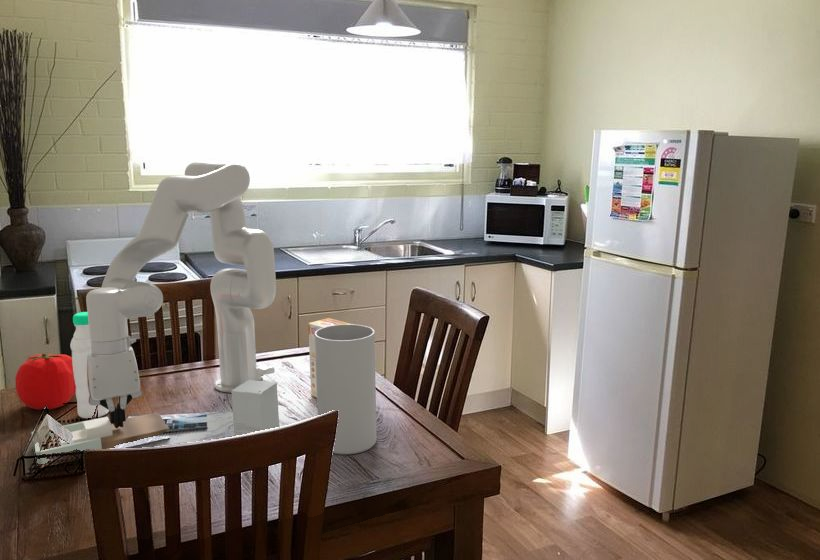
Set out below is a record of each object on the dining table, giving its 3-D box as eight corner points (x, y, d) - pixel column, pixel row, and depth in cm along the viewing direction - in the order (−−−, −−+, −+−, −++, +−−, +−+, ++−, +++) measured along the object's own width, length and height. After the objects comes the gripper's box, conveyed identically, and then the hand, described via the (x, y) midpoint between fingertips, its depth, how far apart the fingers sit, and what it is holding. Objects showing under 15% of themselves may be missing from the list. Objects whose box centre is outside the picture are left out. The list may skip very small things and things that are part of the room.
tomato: (37, 421, 164) (30, 366, 162) (5, 409, 172) (-2, 356, 169) (97, 400, 177) (91, 348, 175) (65, 390, 185) (59, 340, 182)
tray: (93, 434, 157) (92, 419, 156) (102, 454, 147) (100, 438, 146) (33, 447, 151) (31, 431, 150) (38, 469, 141) (36, 452, 140)
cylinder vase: (341, 426, 160) (338, 321, 155) (387, 438, 154) (385, 329, 149) (307, 447, 149) (302, 335, 144) (355, 461, 143) (352, 344, 138)
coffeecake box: (370, 402, 174) (368, 327, 170) (349, 411, 169) (347, 333, 165) (331, 388, 184) (328, 317, 180) (309, 395, 179) (307, 322, 175)
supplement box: (281, 435, 156) (278, 382, 153) (263, 449, 149) (260, 393, 146) (252, 431, 158) (249, 378, 155) (233, 445, 151) (230, 389, 148)
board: (158, 421, 164) (157, 412, 163) (170, 438, 155) (169, 428, 154) (93, 435, 156) (92, 425, 156) (102, 454, 147) (101, 443, 147)
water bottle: (98, 420, 165) (87, 318, 159) (71, 418, 166) (59, 316, 161) (116, 409, 171) (106, 310, 166) (90, 407, 173) (80, 309, 168)
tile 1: (84, 440, 153) (83, 429, 152) (88, 448, 149) (87, 437, 148) (59, 445, 150) (58, 434, 150) (62, 454, 146) (61, 443, 145)
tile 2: (108, 427, 155) (107, 416, 154) (112, 435, 151) (111, 424, 150) (83, 432, 152) (82, 421, 152) (87, 440, 148) (86, 429, 148)
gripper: (142, 335, 157) (149, 412, 160) (69, 346, 149) (78, 427, 153) (150, 344, 150) (157, 423, 154) (74, 356, 143) (83, 439, 146)
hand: (118, 425), depth 153 cm, fingers closed
